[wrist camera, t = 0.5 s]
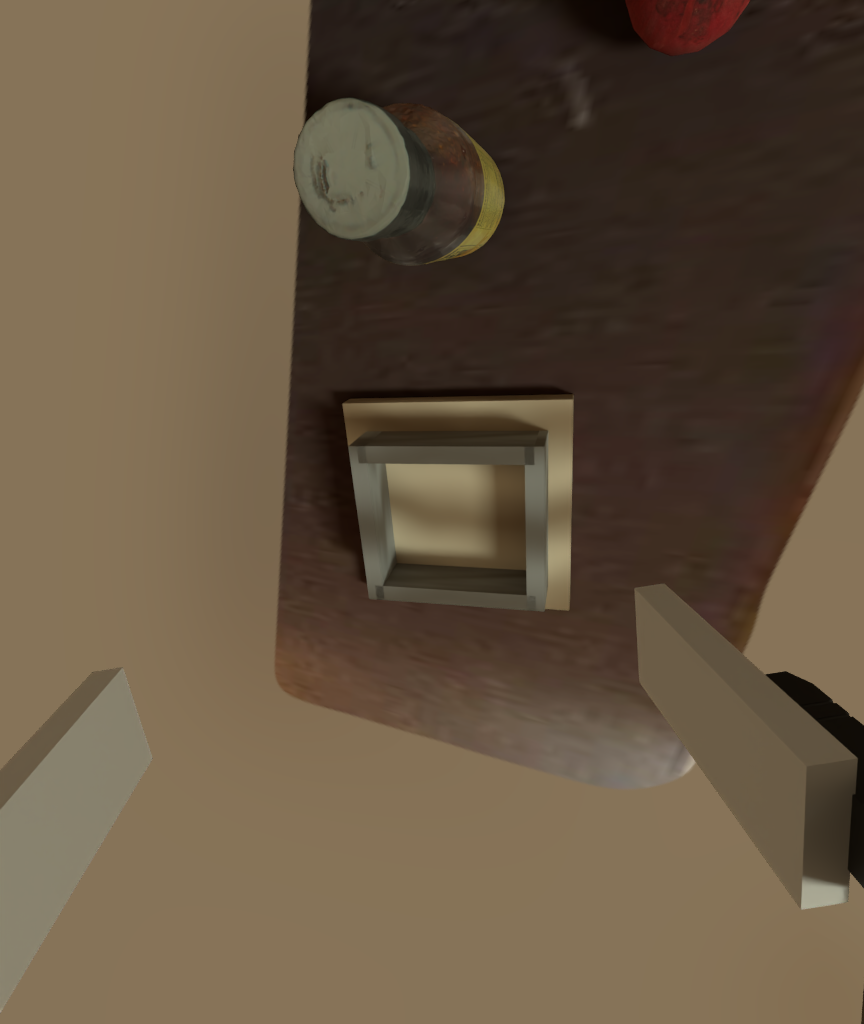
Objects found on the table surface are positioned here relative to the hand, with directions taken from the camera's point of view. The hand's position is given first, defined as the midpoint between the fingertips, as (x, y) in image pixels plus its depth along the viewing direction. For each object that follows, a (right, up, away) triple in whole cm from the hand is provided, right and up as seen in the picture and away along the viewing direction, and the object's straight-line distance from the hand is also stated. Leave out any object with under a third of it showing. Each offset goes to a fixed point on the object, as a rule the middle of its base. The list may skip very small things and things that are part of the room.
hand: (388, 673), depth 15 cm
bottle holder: (+3, +5, +29) cm, 30 cm away
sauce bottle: (+3, +23, +21) cm, 32 cm away
